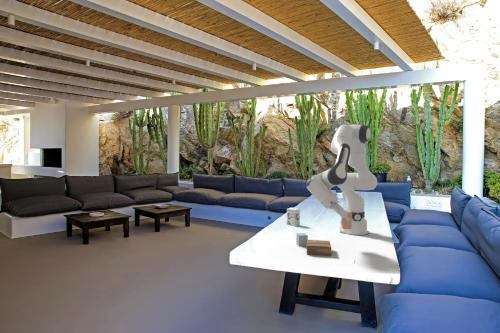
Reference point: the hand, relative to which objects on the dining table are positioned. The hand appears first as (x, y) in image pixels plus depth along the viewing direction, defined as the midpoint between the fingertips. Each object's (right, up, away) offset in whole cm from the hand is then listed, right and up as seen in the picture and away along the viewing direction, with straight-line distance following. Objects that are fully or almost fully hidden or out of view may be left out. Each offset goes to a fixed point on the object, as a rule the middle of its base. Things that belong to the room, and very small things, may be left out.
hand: (347, 219), depth 184 cm
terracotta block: (-1, -5, 0) cm, 5 cm away
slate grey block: (-24, -15, +6) cm, 29 cm away
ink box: (-22, -13, +59) cm, 65 cm away
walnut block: (-17, -16, -7) cm, 25 cm away
